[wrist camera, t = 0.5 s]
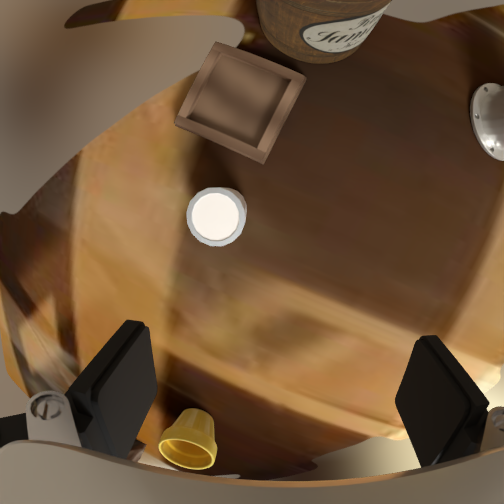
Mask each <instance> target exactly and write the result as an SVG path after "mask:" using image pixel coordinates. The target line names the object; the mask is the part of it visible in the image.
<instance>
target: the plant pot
mask: <svg viewBox="0 0 504 504" xmlns="http://www.w3.org/2000/svg"><path fill="white" fill-rule="evenodd" d="M158 447H159V450H160V452H161V454H162V455H163V456H164V457H165V458H166V459H168V460H169V461H171V462H172V463H174V464H177V465H179V466H182V467H185V468H189V469H205V468H208V467H210V466H212V465H213V463H214V461H215V457H216V452H217V445H216V443H215V441H214V421H213V418H212V417H211V416H210V415H209V414H208V413H206V412H205V411H203V410H200V409H195V408H190V409H186V410H184V411H183V412H182V413H181V415H180V416H179V417H178V419H177V420H176V421H175V423H174V424H173V425H172V426H171V427H170V428H168V429H166V430H165V431H164V433H163V435H162V437H161V439H160V441H159V445H158Z"/></svg>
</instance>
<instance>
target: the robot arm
mask: <svg viewBox="0 0 504 504" xmlns="http://www.w3.org/2000/svg"><path fill="white" fill-rule="evenodd" d="M470 117H471V123H472V127H473V130H474V133H475V135H476V138H477V140H478V141H479V143H480V145H481V146H482V148H483V149H484V150H485V151H486V152H487V153H488V154H489V155H490V156H491V157H493V158H495V159H497V160H501V161H504V86H500V85H498V84H495V83H487V84H484V85H481V86H479V87H478V88H477V89H476V90H475V92H474V94H473V96H472V99H471V104H470ZM156 394H157V380H156V374H155V368H154V361H153V354H152V347H151V339H150V331H149V328H148V327H147V326H145V325H144V323H143V322H141V321H134V320H126V321H125V322H124V323H123V325H122V326H121V327H120V328H119V329H118V330H117V331H116V333H115V334H114V335H113V336H112V337H111V338H110V340H109V341H108V342H107V343H106V344H105V345H104V347H103V348H102V349H101V350H100V351H99V352H98V354H97V355H96V356H95V357H94V358H93V360H92V361H91V362H90V363H89V364H88V366H87V367H86V368H85V369H84V370H83V372H82V373H81V374H80V375H79V376H78V378H77V379H76V380H75V381H74V382H73V384H72V385H71V386H70V387H69V390H68V391H67V392H66V393H65V395H63V394H62V393H59V392H57V391H44V392H40V393H38V394H36V395H34V396H33V397H32V398H31V399H30V400H29V401H28V403H27V405H26V413H23V414H19V415H13V416H8V417H3V418H0V504H504V407H495V408H493V409H491V410H490V411H489V412H488V411H487V407H488V405H489V401H488V400H487V398H486V397H485V396H484V394H483V393H482V392H481V390H480V389H479V388H478V386H477V385H476V384H475V382H474V381H473V380H472V379H471V377H470V376H469V375H468V373H467V372H466V371H465V370H464V368H463V367H462V366H461V365H460V363H459V362H458V361H457V360H456V358H455V357H454V356H453V355H452V353H451V352H450V351H449V350H448V348H447V347H446V346H445V345H444V344H443V342H442V341H441V340H440V339H439V338H438V337H437V336H436V335H428V336H421V337H420V339H419V340H417V341H416V342H415V344H414V348H413V351H412V354H411V357H410V360H409V362H408V365H407V368H406V371H405V374H404V376H403V379H402V382H401V384H400V387H399V389H398V392H397V394H396V397H395V404H396V407H397V410H398V412H399V414H400V416H401V419H402V421H403V424H404V426H405V428H406V431H407V433H408V435H409V438H410V440H411V443H412V445H413V448H414V450H415V453H416V455H417V458H418V460H419V463H420V465H421V468H418V469H413V470H408V471H403V472H397V473H392V474H385V475H378V476H371V477H362V478H353V479H342V480H329V481H328V480H327V481H302V482H300V481H295V482H294V481H293V482H292V481H290V482H289V481H258V480H243V479H231V478H222V477H213V476H206V475H199V474H192V473H186V472H181V471H175V470H170V469H165V468H161V467H156V466H151V465H147V464H142V463H138V462H134V461H130V460H126V458H127V456H128V454H129V452H130V450H131V448H132V445H133V443H134V441H135V439H136V437H137V435H138V432H139V430H140V428H141V426H142V424H143V422H144V420H145V418H146V415H147V413H148V411H149V409H150V407H151V405H152V403H153V401H154V399H155V396H156Z"/></svg>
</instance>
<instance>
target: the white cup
mask: <svg viewBox="0 0 504 504" xmlns="http://www.w3.org/2000/svg"><path fill="white" fill-rule="evenodd" d="M246 213H247V208H246V202H245V200H244V197H243V196H242V195H241V194H240V193H239V192H238V191H236V190H234V189H231V188H221V187H219V188H207V189H205V190H203V191H201V192H198V193H197V194H196V195H195V196H194V198H193V199H192V200H191V201H190V203H189V206H188V210H187V224H188V226H189V228H190V230H191V232H192V234H193V235H194V236H195V237H196V238H197V239H198V240H199V241H200V242H202V243H205V244H207V245H210V246H224V245H226V244H229V243H231V242H233V241H234V240H235V239H236V238H237V237H238V236H239V235H240V234H241V232H242V229H243V227H244V224H245V220H246Z"/></svg>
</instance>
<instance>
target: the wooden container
mask: <svg viewBox="0 0 504 504" xmlns="http://www.w3.org/2000/svg"><path fill="white" fill-rule="evenodd" d="M391 1H392V0H256V4H257V10H258V14H259V19H260V24H261V28H262V30H263V32H264V34H265V36H266V37H267V39H268V40H269V41H270V42H271V44H272V45H274V46H275V47H276V48H277V49H278V50H280V51H281V52H283V53H284V54H286V55H288V56H290V57H292V58H294V59H297V60H300V61H304V62H309V63H331V62H336V61H339V60H342V59H344V58H346V57H348V56H349V55H351V54H352V53H354V52H355V51H356V50H357V49H358V48H359V47H360V45H361V44H362V43H363V41H364V40H365V38H366V37H367V36H368V34H369V33H370V32H371V31H372V29H373V28H374V26H375V25H376V23H377V22H378V20H379V19H380V17H381V15H382V14H383V12H384V11H385V9H386V8H387V7H388V5H389V3H390V2H391Z"/></svg>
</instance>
